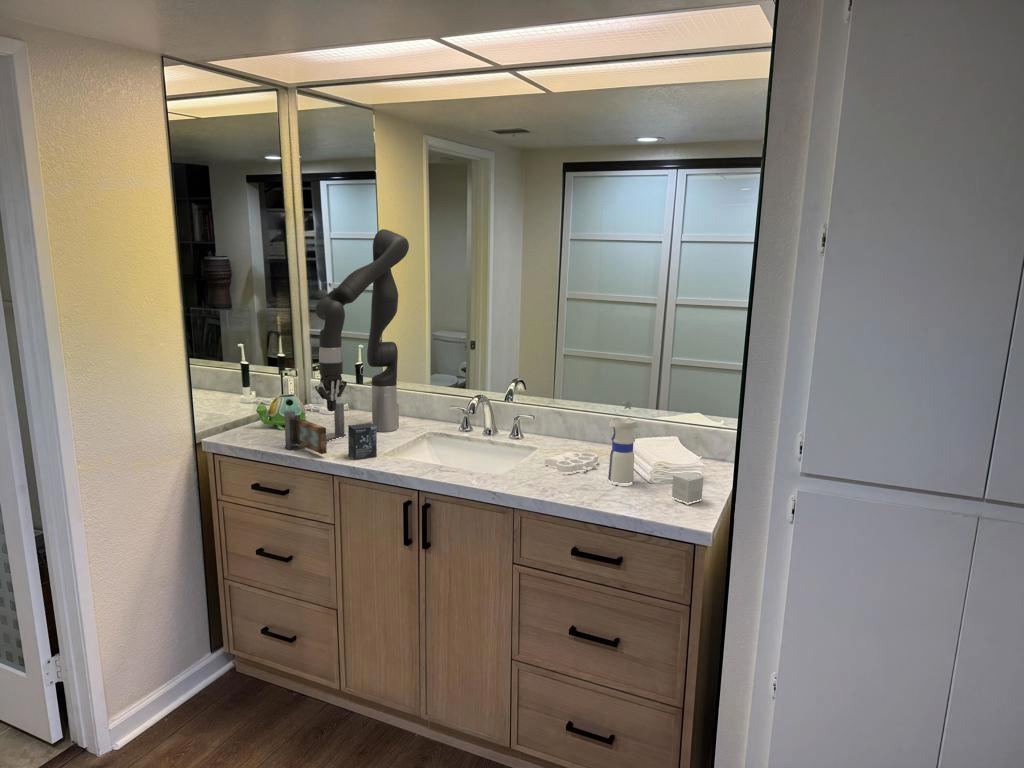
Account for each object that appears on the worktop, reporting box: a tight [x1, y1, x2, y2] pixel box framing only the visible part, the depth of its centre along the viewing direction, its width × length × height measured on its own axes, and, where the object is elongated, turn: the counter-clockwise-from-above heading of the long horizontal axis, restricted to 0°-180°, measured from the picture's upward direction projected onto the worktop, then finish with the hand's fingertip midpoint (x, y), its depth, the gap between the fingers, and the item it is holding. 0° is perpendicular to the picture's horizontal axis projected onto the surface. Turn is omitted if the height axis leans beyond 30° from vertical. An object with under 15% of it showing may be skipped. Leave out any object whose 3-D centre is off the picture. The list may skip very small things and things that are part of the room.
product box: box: [671, 471, 704, 503], centre depth 197 cm, size 6×6×7 cm
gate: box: [295, 415, 328, 455], centre depth 234 cm, size 18×2×10 cm, turn 46°
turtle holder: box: [255, 393, 307, 431], centre depth 265 cm, size 12×18×12 cm
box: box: [347, 422, 378, 461], centre depth 231 cm, size 8×6×11 cm
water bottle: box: [607, 398, 638, 483], centre depth 210 cm, size 8×8×25 cm
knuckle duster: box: [544, 451, 599, 472], centre depth 226 cm, size 3×18×15 cm
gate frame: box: [284, 402, 347, 451], centre depth 246 cm, size 24×5×13 cm, turn 146°
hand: (331, 410), depth 237 cm, fingers closed
